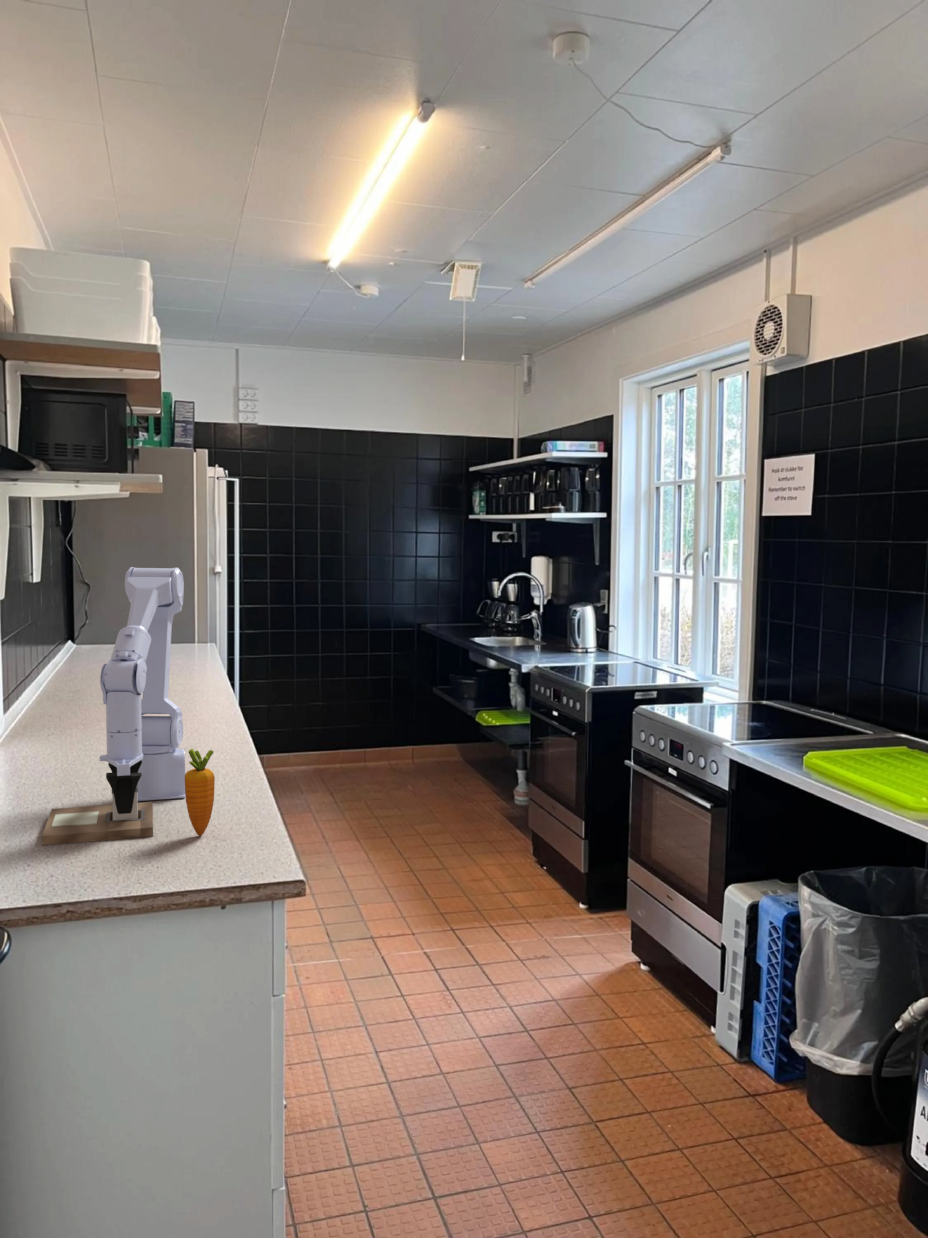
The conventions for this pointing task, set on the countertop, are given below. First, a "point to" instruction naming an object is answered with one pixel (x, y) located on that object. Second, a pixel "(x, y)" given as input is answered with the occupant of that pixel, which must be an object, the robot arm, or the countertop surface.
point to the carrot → (199, 791)
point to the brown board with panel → (95, 824)
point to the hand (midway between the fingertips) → (125, 807)
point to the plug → (129, 815)
